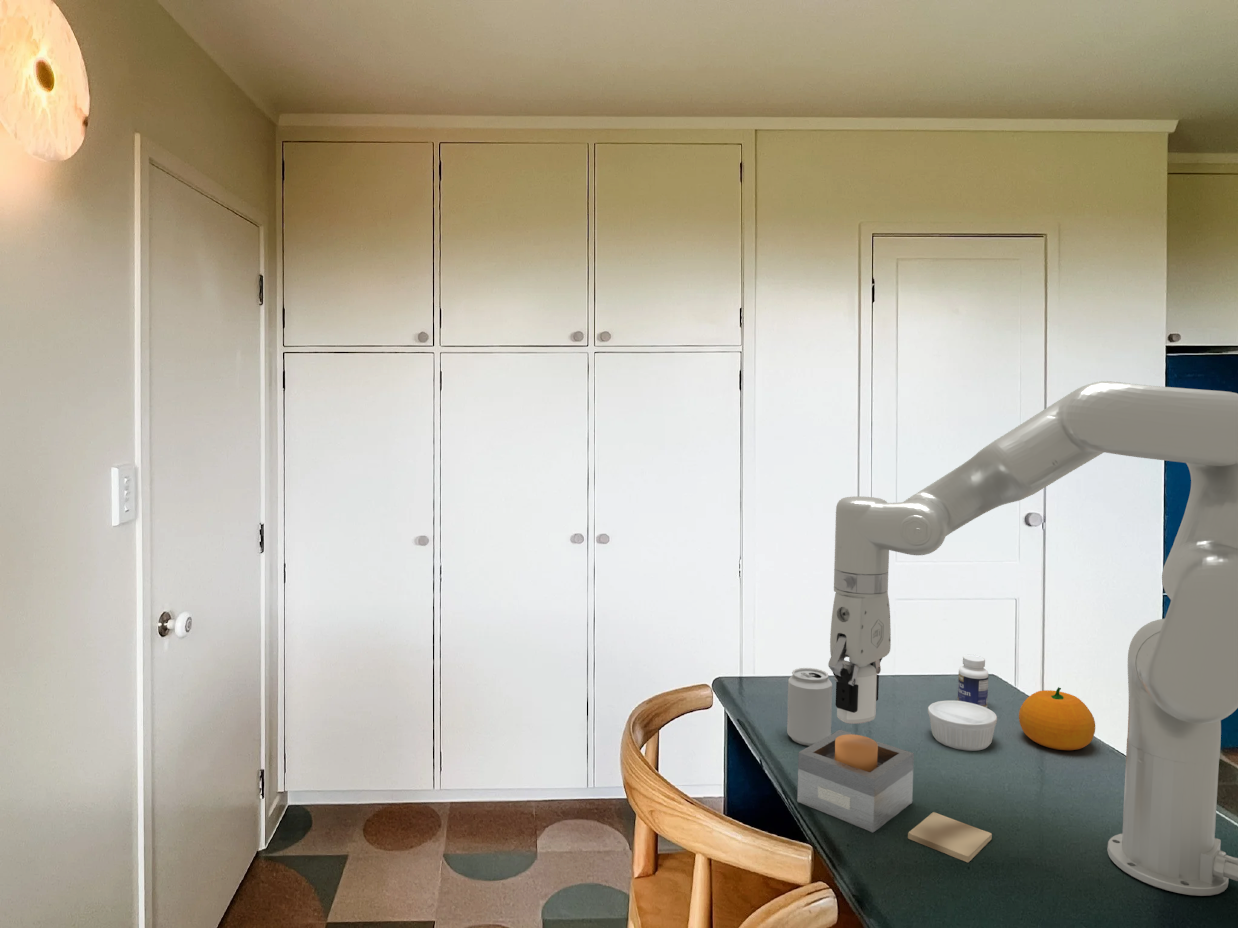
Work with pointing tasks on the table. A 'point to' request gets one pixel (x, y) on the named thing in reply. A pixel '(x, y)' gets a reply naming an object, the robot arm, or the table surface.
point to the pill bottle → (973, 681)
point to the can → (809, 706)
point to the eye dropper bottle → (862, 696)
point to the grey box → (855, 784)
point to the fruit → (1057, 720)
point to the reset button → (857, 751)
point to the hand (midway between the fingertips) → (857, 703)
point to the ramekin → (962, 724)
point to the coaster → (950, 836)
